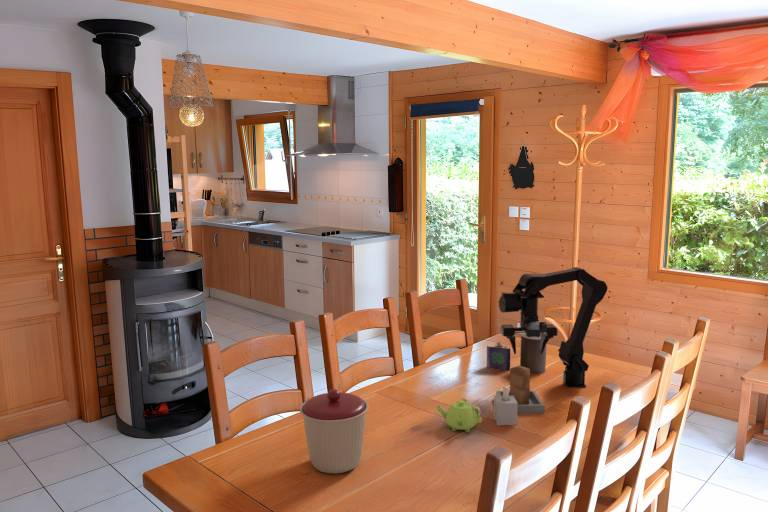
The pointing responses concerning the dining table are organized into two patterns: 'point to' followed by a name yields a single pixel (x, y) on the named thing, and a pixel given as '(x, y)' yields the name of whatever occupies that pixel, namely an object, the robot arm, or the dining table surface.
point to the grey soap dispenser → (505, 408)
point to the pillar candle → (532, 354)
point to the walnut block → (520, 384)
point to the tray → (533, 406)
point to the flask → (498, 357)
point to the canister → (334, 430)
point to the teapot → (461, 415)
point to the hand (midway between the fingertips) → (528, 353)
